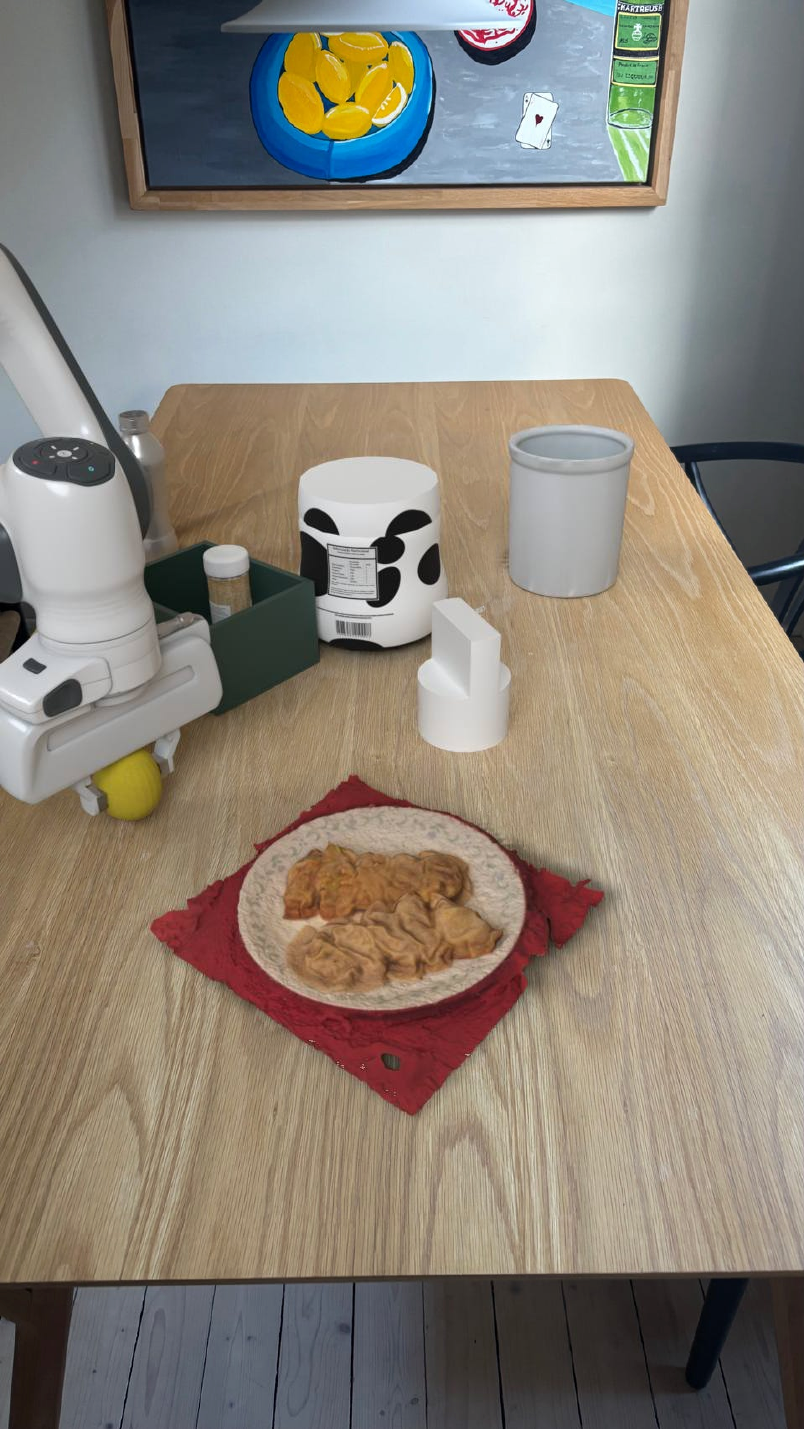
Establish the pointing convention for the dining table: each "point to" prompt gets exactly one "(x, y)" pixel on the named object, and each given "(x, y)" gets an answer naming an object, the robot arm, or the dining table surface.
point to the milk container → (372, 550)
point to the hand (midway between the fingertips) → (129, 791)
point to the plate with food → (379, 934)
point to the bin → (242, 621)
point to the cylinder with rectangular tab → (463, 682)
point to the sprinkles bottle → (227, 580)
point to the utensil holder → (567, 508)
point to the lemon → (131, 785)
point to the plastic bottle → (154, 462)
